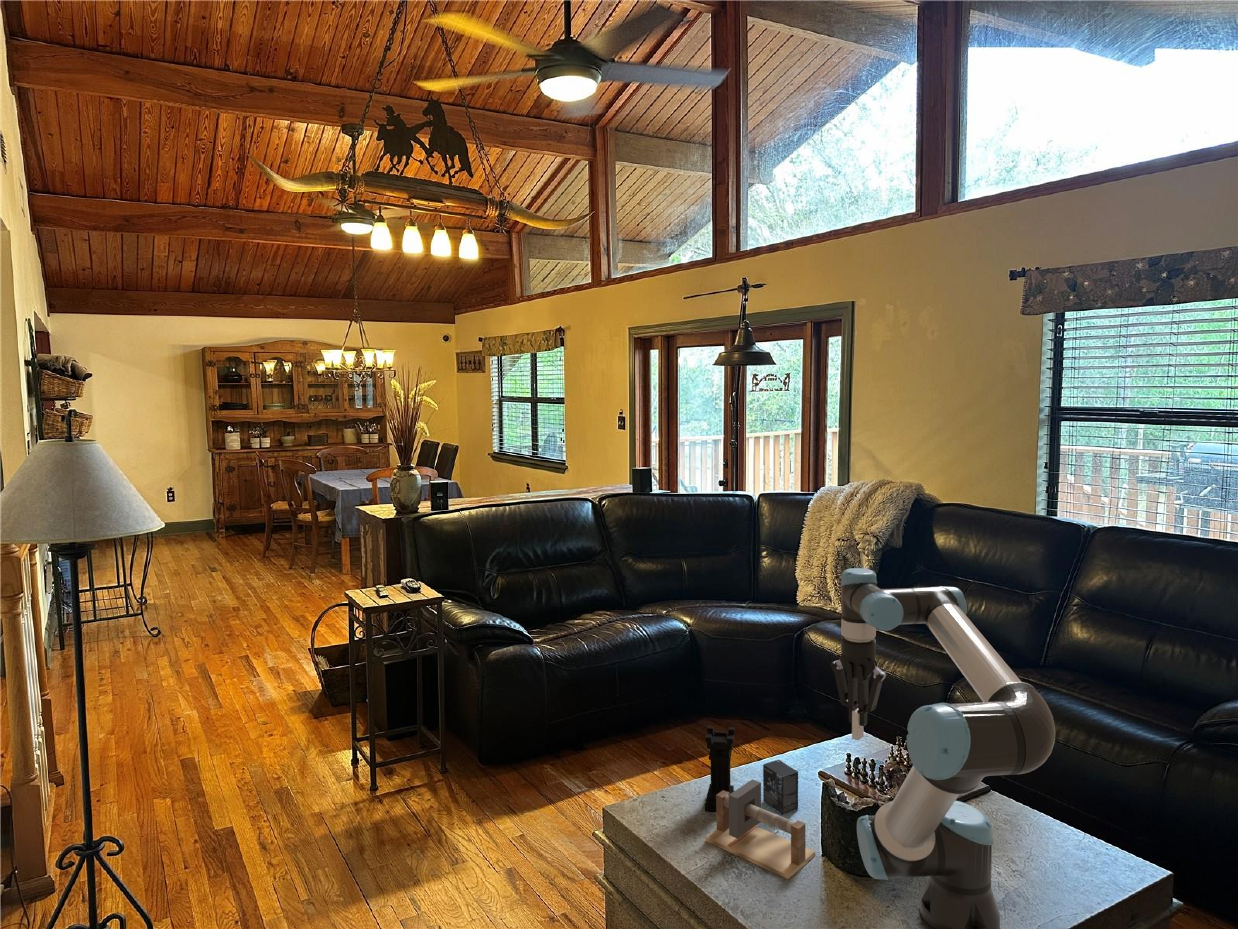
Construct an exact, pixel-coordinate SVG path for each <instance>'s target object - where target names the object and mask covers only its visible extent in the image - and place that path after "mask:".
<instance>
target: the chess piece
mask: <svg viewBox="0 0 1238 929" xmlns="http://www.w3.org/2000/svg"><path fill="white" fill-rule="evenodd" d="M714 730H715V727H714V725H707V727H706V733H708V734H705V737H704V742H705V743H706V749H709V754H708V760H709V761H710V783H709V786H708V790H707V792H706V793H707V794H706V798H705V804H704V810H703V812H704V813H714V814H716V795H717V794H718V793H720V792H721V791H723V790H724V791H726V792H729V793H730V794H731V793H733V792H734V791H735V790H734V789H735V786H734V785H732V784H731V783H732V782H731V760H732V752H733V746H734V745H733V744H734V740H735V739H734V738H735V737H734V735H735V733H736V727H734V726H733V727H732V726H728V729H727V730H728V731H721V730H720V731H719V730H718V731H717V730H715V731H714Z"/></svg>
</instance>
